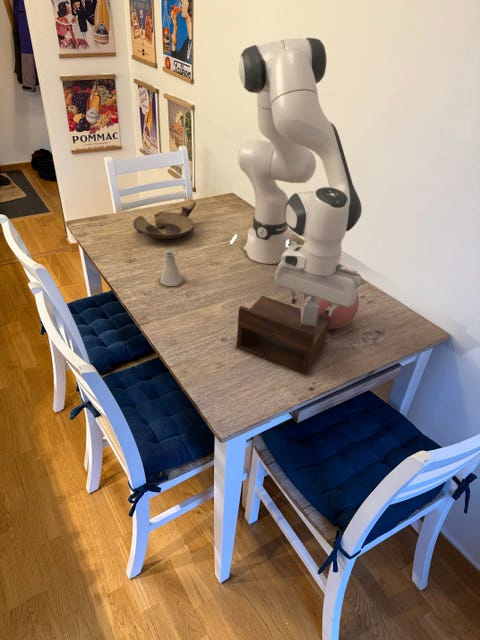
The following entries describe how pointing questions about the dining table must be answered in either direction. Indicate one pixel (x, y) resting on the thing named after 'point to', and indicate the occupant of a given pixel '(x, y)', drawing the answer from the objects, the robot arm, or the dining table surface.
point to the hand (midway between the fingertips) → (310, 308)
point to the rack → (280, 334)
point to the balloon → (338, 313)
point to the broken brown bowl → (167, 223)
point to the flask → (171, 271)
